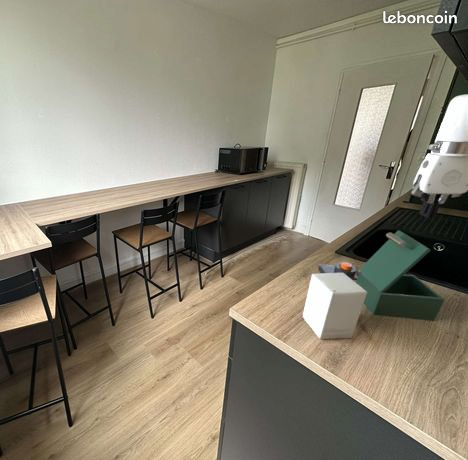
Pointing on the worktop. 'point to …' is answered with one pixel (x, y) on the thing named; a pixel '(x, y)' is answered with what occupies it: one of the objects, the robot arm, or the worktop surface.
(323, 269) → the control block
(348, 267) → the button
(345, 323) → the white product box
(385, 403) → the worktop surface
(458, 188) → the robot arm
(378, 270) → the green box lid
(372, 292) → the green lidded box
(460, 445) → the worktop surface
